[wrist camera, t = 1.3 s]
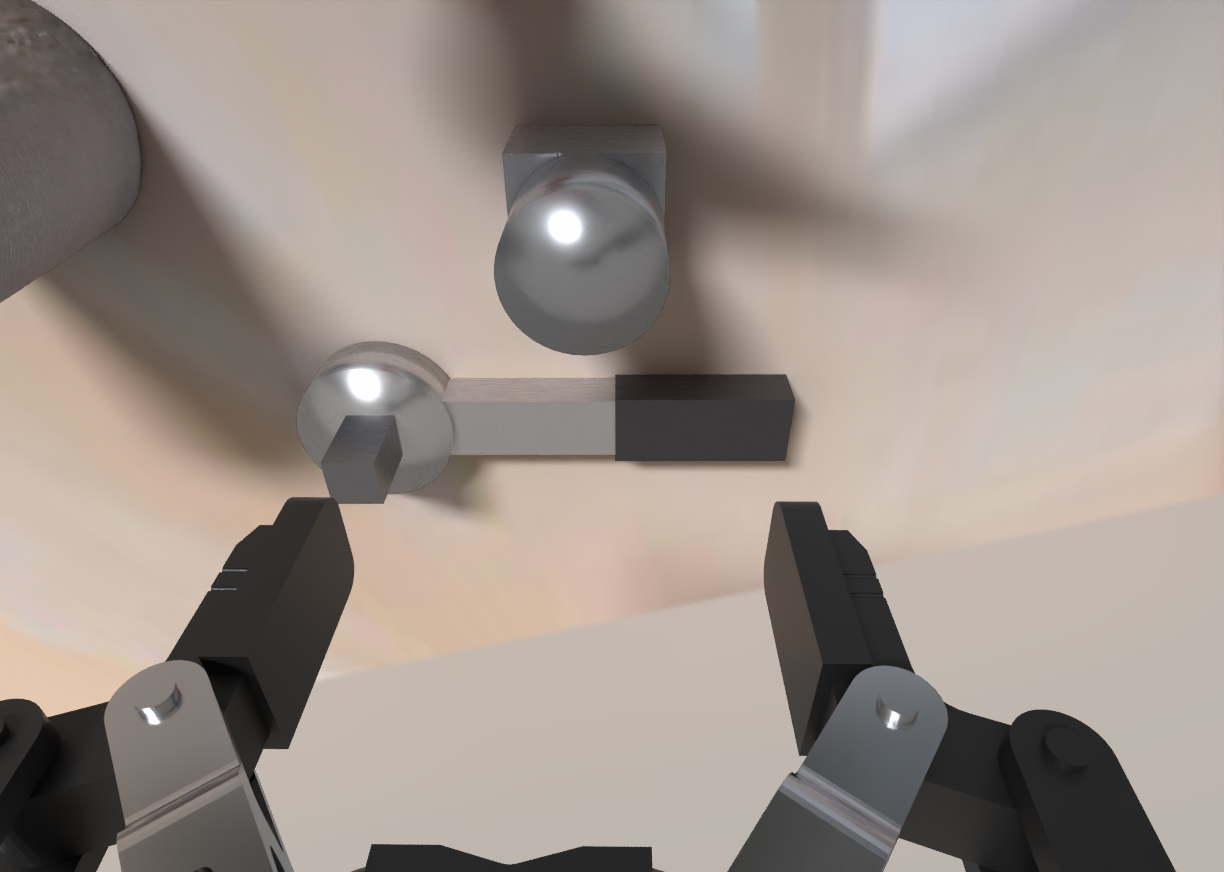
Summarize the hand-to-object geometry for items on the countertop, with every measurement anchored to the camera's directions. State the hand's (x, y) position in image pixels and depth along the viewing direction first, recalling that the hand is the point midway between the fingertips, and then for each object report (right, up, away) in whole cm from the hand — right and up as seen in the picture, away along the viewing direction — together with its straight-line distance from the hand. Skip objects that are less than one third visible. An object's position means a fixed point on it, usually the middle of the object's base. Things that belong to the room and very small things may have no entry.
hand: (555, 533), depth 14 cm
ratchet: (-2, +3, +22) cm, 23 cm away
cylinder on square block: (0, +12, +16) cm, 20 cm away
